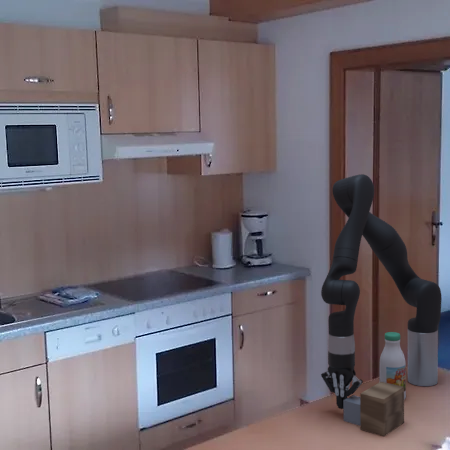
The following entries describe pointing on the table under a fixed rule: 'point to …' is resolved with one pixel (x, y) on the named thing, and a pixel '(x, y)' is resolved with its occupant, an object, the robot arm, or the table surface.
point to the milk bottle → (393, 362)
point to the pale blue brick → (352, 410)
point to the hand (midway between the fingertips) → (341, 407)
